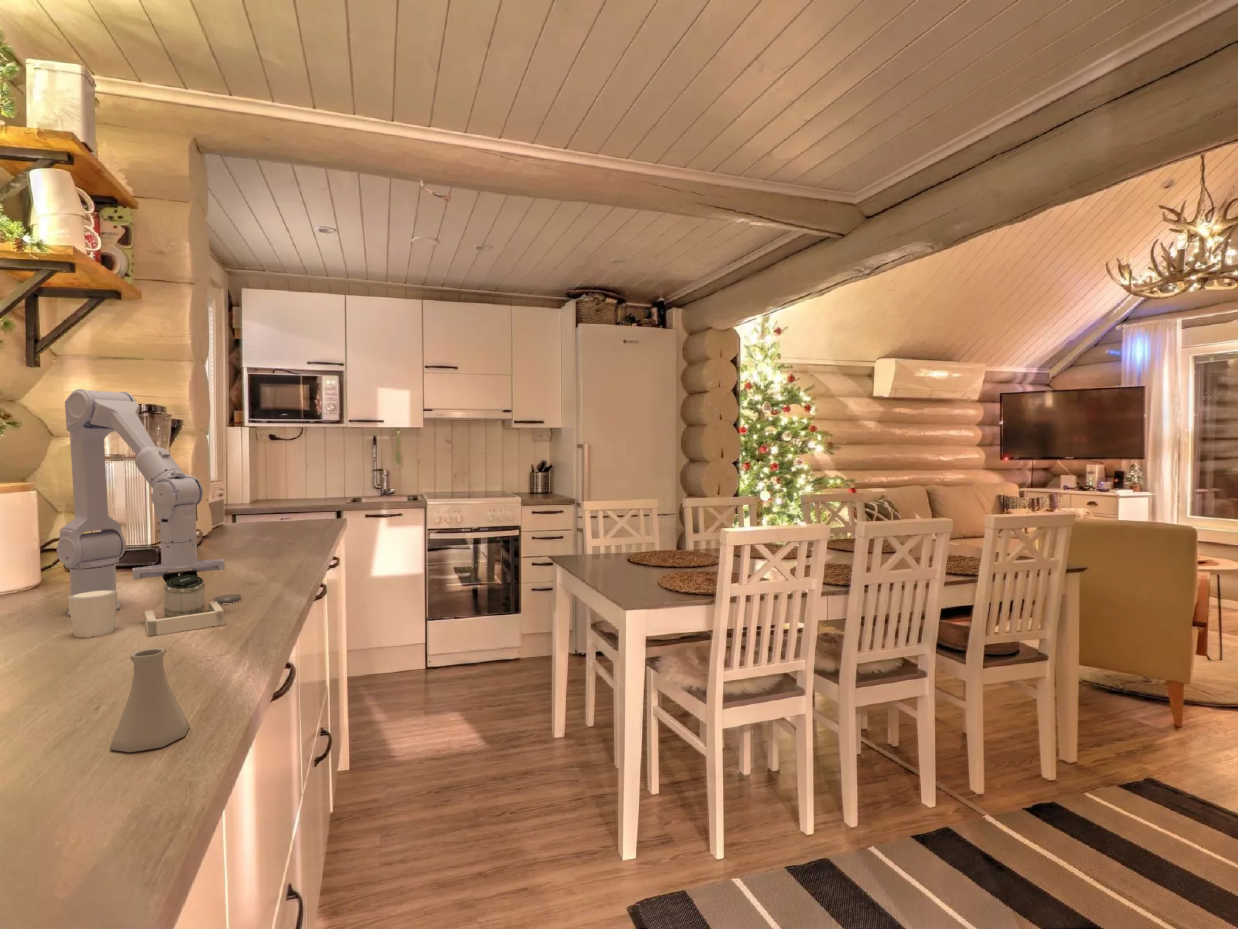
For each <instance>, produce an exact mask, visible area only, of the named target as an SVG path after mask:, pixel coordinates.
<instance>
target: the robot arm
mask: <svg viewBox="0 0 1238 929" xmlns="http://www.w3.org/2000/svg"><path fill="white" fill-rule="evenodd" d="M64 410H65V426H66V427H65V428H66V431H67V432H69V440H70V441H69V442H70V444H69V445H70V458H71V473H72V474H71V475H72V478H71V479H72V489H73V490H72V491H73V506H74V507H73V508H74V509H73V510H74V518H72V519H71V521H69V522H67V523H66V524H65V525H64V526H62V527H61V528H60V529H59V540H58V543H57V545H56V555H57V558H58V560H59V562H60V563H61V564H63V566H64V568H65V569H66V568H67V569H69V582H70V583H69V585H70V588H69V589H70V596H71V595H74V594H77V593H82V592H88V591H96V590H116V591H117V574H116V572H117V571H116V568H117V567H116V564H117V563H120V558H122V557H123V556H124V554H125V553H126V548H127V547H126V546H127V541H126V539H125V536H124V534H123V532H122V524H121V523H120V522H118V521H117V520H116V519H114V518H113V517H110V515H109V505H108V489H107V488H108V487H107V486H108V485H107V471H106V458H105V457H106V454H105V438H106V437H108V436H109V434H111V433H114V432H116V433H117V434H118V435H119V437H121V439H122V440H123V441H124V442H125V443H126V444H127V445H128V447H129V448H130V449H131V451H132V452H133V453H134V454H135V455H136V458H135V460H134V465H135V466H136V467H137V468H136V469H138V470H139V472H140V474H141V475H142V476H143V477H144V480H145V481H146V482H147V483H148V485H149V486H150V488H151V489H152V492H151V494H150V499H151V502H152V504H153V506H154V507H155V511H156V512H155V514H156V515H155V516H157V518H158V519H159V529H160V557H161V558H160V559H161V560H160V562H161V563H160V564H159V563H158V564H155V565H154V564H153V565H152V564H151V565H148V566H142V567H141V566H140V567H139V566H138V567H133V568H132V581H137V580H141V579H147V578H157V577H162V579H163V581H164V584H165V583H166V582H167V581H168V580H169V579H171V578H174V577H177V576H182V575H194V576H198V573H201V572H210V571H224V570H225V569H226V568H225V560H224V559H223V558H218V559H216V558H215V559H201V560H198V543H197V540H198V538H197V537H198V535H197V512H196V511H197V508H196V506H198V505H200V503H201V501H202V499H203V496H204V492H203V490H204V489H203V486H202V485H201V483H200V480H199V479H198V478H197V477H194V476H190V475H189V474H188V473H184V471H183V470H182V469H181V468H180V466H179V465H178V463H177V462H176V461H175V459H174V458H173V456H171V455H172V454H171V453H170V452H169V450H168V449H166V448H164V447H160V446H159V447H158V446H156V444H155V443H154V441H153V439H152V437H151V436H150V434H149V432H148V430H147V429H146V427H145V425H144V424H143V423H142V421H141V418H140V417H139V413H140V405H139V403H138V402H137V401H136V399H135V397H134V396H133V395H132V394H131V393H129V392H126V391H121V392H118V391H105V390H104V391H101V390H100V391H99V390H86V389H82V388H80V389H79V388H78V389H75V390H73V391H72V392H71V393H70V394H69V396H67V398H66V399H65V400H64ZM94 531H95V532H94ZM87 532H88V533H87ZM198 577H199V576H198ZM120 609H121V608H120V599H119V598H117V604H116V610H120ZM67 615H68V616H71V613H70V607H69V606H68V613H67Z"/></svg>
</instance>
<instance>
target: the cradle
mask: <svg viewBox="0 0 1238 929" xmlns="http://www.w3.org/2000/svg"><path fill="white" fill-rule="evenodd" d="M144 625H145V630H146V633H147V636H148V637H154V636H159V635H160V636H161V635H168V634H173V633H174V634H175V633H181V632H187V631H192V630H193V631H194V630H200V629H206V628H213V627H212V626H214V627H219V626H220V627H221V626H225V611H224V610H223V608H222V607H221V605H219V604H218V603H217V601H214V600H212V601H208V611H206V612H203V613H199V614H192V615H185V616H178V617H171V618H166V617H165V618H157V619H156V615H155V613H154V610H153V609H146V610H144Z"/></svg>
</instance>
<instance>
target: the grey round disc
mask: <svg viewBox="0 0 1238 929" xmlns="http://www.w3.org/2000/svg"><path fill="white" fill-rule="evenodd" d="M240 599H241V600H242V594H239V593H236V594H235V593H231V594H224V595H218V596H216V597H215V596H214V598H213V601H217V603H218V604H219V603H220V604H223V603H232V604H234V603H233V602H236V601H239V600H240Z"/></svg>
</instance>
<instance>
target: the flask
mask: <svg viewBox="0 0 1238 929" xmlns="http://www.w3.org/2000/svg"><path fill="white" fill-rule="evenodd" d="M166 653H167V649H166V648H163V647H162V648H161V647H155V648H153V647H152V648H145V649H140V650H138V651H135V652H133V653H132V654H131V655H130V657H129V659H130V661H131V662H132V663H133V678H132V682H131V686H130V687H131V688H130V692H129V695H128V698H127V701H126V703H125V705H124V708H123V709H124V710H123V712H122V715H121V718H120V720H119V723H118V724H117V727H116V730H115V732H114V736H113V738H112V741H111V743H110V745H109V746H110V747H109V750H112V751H118V752H126V753H135V752H139V751H146V750H147V751H148V750H153V749H158V748H160V749H161V748H163V747H165V746H167V745H169V744H172V743H174V742H175V741H177V740H180V739H181V738H183V737H185V736H186V735H187V732H188V731H189V728H190V726H191V725H190V723H189V721H188V719H187V717H186V715H185V714H184V712H183V710H182V708H181V706H180V705H179V703H178V700H177V699H176V697H175V694H174V692H173V690H172V689H171V686H170V684H169V683H168V678H167V674H166V671H165V668H164V656H165V654H166Z"/></svg>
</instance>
